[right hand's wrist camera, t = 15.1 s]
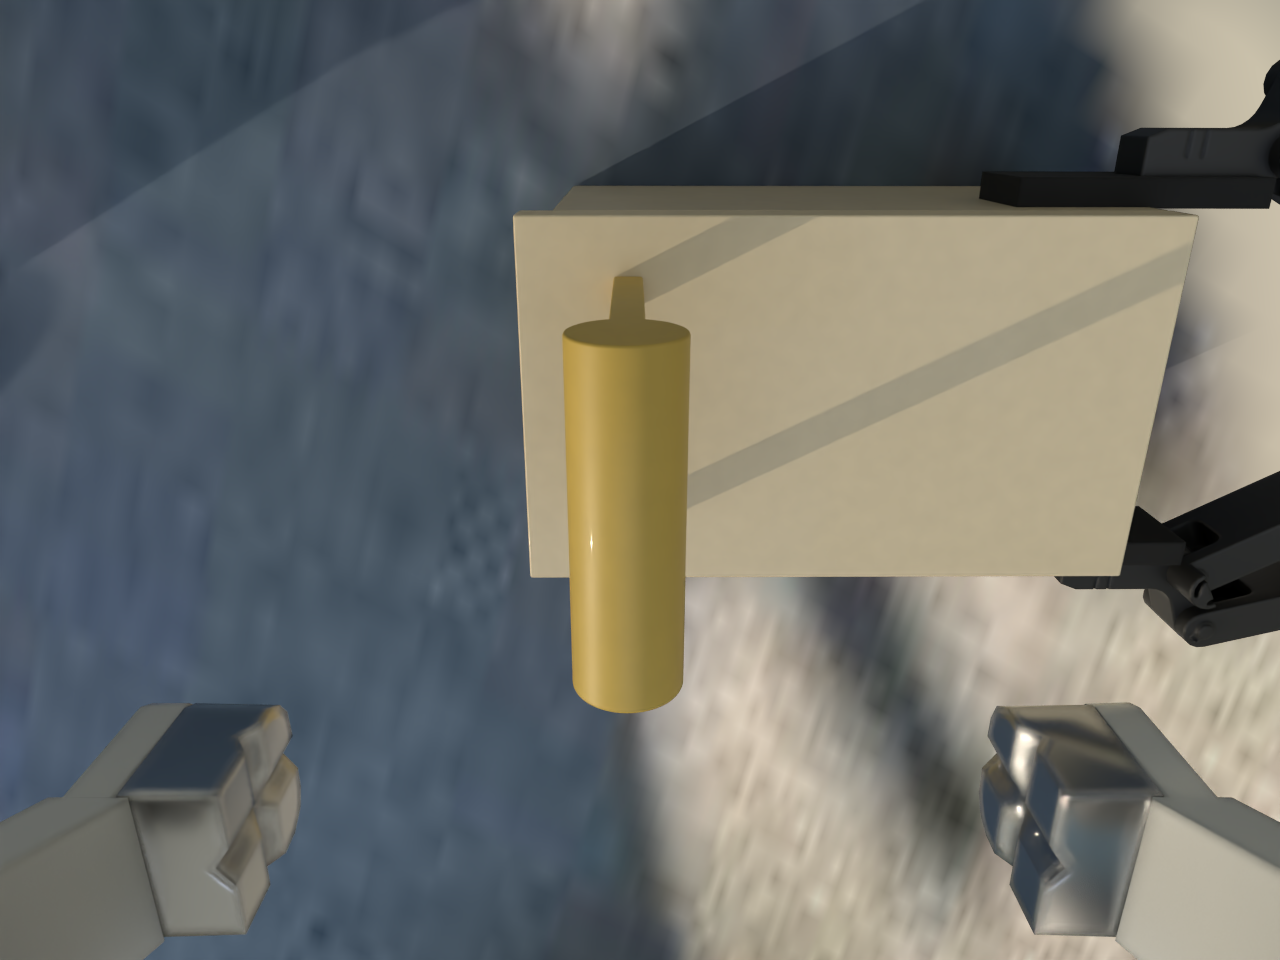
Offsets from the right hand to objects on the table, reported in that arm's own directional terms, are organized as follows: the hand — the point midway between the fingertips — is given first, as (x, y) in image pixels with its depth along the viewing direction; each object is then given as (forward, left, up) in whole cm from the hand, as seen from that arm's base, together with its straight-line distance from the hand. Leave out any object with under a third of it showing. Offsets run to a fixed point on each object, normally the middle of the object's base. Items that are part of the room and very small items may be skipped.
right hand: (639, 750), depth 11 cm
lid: (+2, +5, -14) cm, 15 cm away
